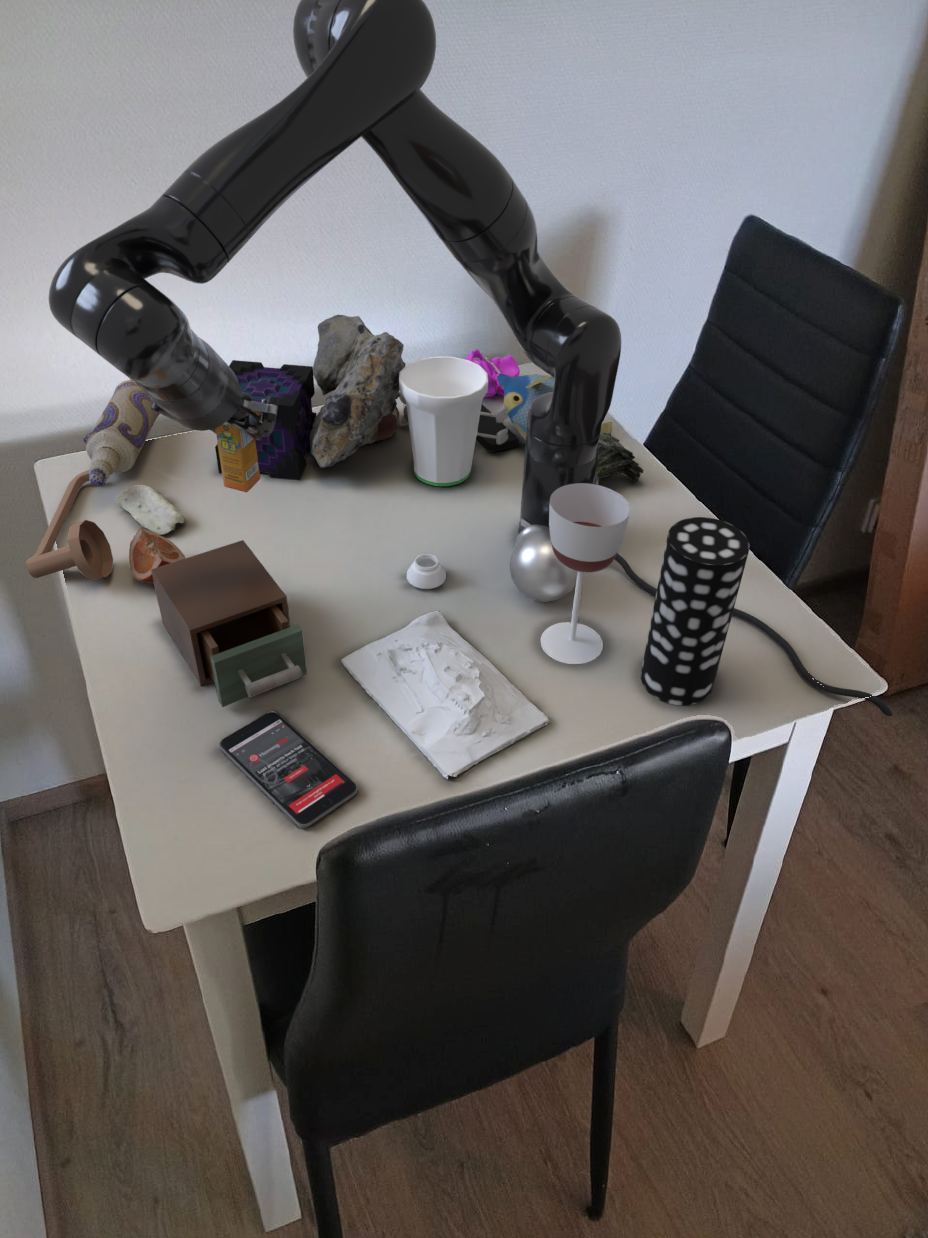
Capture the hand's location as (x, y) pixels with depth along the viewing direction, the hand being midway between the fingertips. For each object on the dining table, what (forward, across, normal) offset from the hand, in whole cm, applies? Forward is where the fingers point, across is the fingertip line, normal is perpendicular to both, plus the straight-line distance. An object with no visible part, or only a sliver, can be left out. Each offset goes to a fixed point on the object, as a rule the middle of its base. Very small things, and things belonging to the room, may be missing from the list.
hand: (241, 429), depth 114 cm
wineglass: (+12, -40, +19) cm, 46 cm away
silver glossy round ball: (+15, -39, +13) cm, 44 cm away
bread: (+44, -4, -13) cm, 46 cm away
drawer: (+4, -4, +27) cm, 27 cm away
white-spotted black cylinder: (+9, -52, +22) cm, 57 cm away
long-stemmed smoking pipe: (+21, +25, +12) cm, 34 cm away
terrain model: (+5, -26, +27) cm, 37 cm away
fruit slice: (+15, +13, +16) cm, 26 cm away
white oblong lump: (+24, +19, +7) cm, 31 cm away
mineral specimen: (+31, -42, -10) cm, 54 cm away
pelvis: (+50, -22, -29) cm, 62 cm away
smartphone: (-5, -12, +37) cm, 39 cm away
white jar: (+19, -21, +13) cm, 31 cm away
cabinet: (+8, +1, +23) cm, 25 cm away
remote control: (+46, -23, -15) cm, 54 cm away
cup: (+36, -19, -6) cm, 41 cm away
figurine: (+38, -28, -14) cm, 49 cm away
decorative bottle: (+40, +26, -12) cm, 50 cm away
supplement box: (+3, 0, +6) cm, 7 cm away
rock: (+34, -11, -13) cm, 38 cm away
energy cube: (+37, +8, -6) cm, 38 cm away
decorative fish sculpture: (+45, -34, -25) cm, 61 cm away
